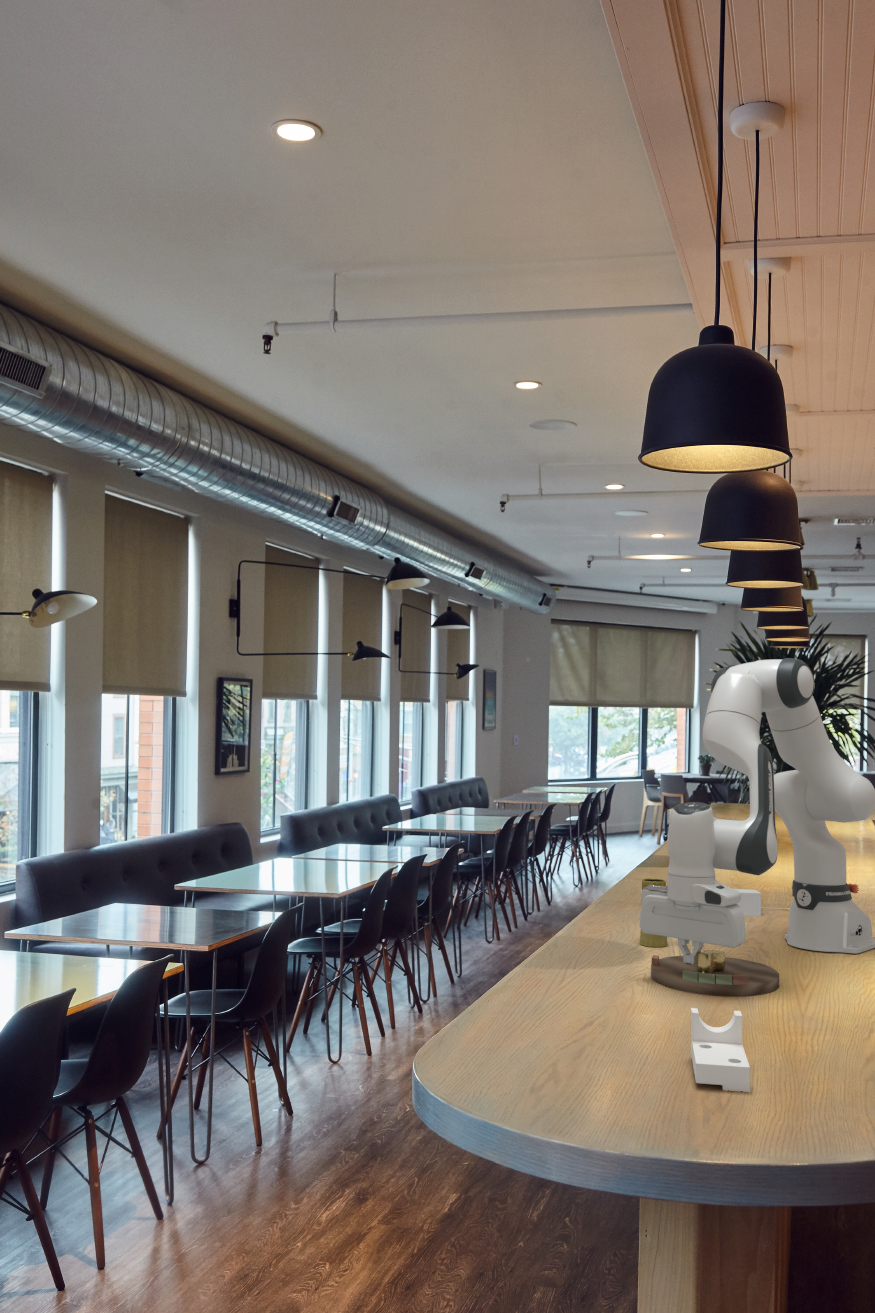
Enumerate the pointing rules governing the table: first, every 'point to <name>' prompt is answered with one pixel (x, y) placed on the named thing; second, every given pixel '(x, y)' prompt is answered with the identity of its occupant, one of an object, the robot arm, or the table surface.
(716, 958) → the brass dumbbell
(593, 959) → the table surface
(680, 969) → the dial base
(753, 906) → the light grey cube
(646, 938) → the vase
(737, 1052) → the bracket
